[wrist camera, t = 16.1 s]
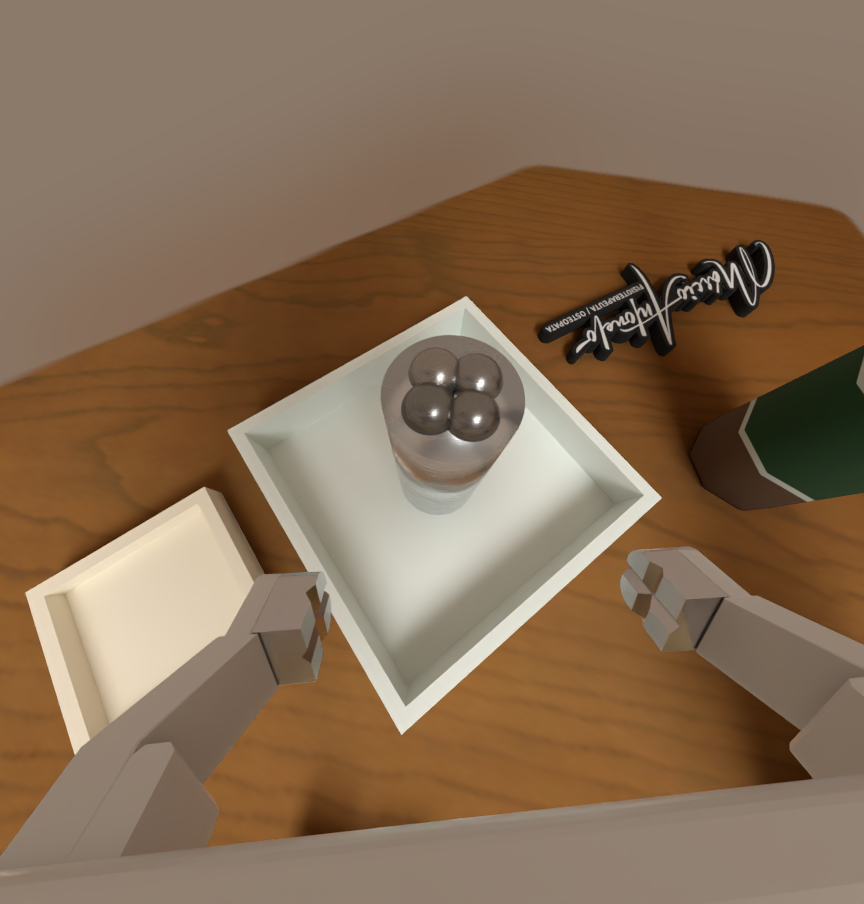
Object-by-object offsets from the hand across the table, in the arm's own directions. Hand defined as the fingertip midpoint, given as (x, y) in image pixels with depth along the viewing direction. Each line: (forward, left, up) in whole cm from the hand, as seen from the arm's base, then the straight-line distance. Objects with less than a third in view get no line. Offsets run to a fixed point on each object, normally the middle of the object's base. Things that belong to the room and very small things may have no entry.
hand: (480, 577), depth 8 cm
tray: (-8, -15, -14) cm, 23 cm away
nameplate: (-7, +32, -15) cm, 36 cm away
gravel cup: (-5, +3, -13) cm, 15 cm away
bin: (-5, +4, -14) cm, 16 cm away
